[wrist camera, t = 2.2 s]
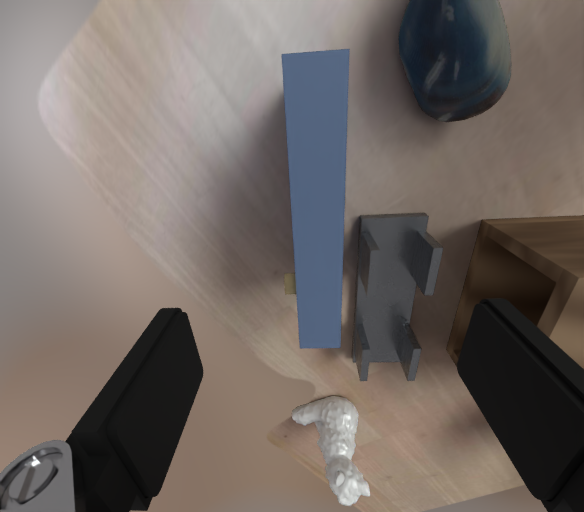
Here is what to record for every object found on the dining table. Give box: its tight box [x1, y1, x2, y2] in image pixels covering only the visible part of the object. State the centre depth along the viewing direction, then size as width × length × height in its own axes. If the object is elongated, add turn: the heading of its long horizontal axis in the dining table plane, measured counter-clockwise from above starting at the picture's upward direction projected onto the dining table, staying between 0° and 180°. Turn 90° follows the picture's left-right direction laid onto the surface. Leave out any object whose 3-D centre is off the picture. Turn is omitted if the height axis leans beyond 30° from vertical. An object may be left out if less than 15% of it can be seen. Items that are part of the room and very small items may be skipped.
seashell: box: [399, 0, 511, 122], centre depth 19 cm, size 6×9×10 cm
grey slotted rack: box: [352, 213, 443, 381], centre depth 30 cm, size 20×6×5 cm, turn 3°
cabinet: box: [446, 215, 584, 369], centre depth 27 cm, size 18×10×11 cm, turn 3°
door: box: [282, 49, 349, 348], centre depth 22 cm, size 18×4×12 cm, turn 3°
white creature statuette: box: [292, 396, 370, 506], centre depth 37 cm, size 10×9×12 cm
